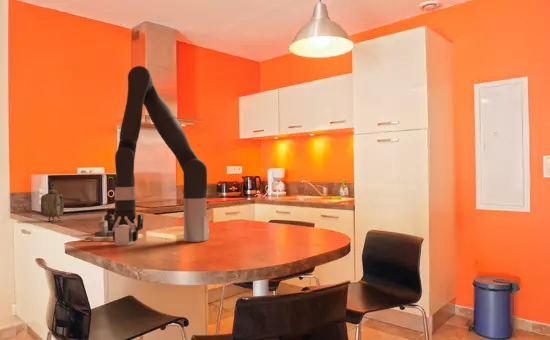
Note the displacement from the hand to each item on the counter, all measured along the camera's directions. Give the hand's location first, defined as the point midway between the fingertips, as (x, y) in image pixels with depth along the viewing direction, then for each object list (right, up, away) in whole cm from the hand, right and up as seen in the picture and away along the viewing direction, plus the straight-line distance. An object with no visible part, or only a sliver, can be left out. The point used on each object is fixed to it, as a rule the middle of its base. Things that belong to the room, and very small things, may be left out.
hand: (125, 241), depth 154 cm
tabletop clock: (-82, -5, +95) cm, 125 cm away
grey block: (0, -1, 0) cm, 1 cm away
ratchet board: (-10, -2, +13) cm, 16 cm away
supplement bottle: (-19, -3, +32) cm, 37 cm away
